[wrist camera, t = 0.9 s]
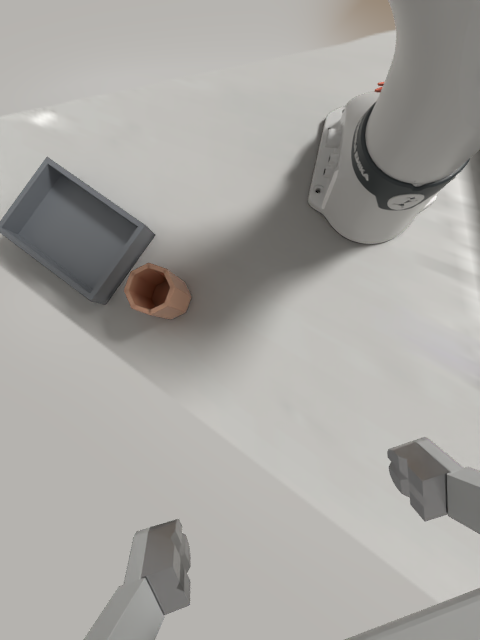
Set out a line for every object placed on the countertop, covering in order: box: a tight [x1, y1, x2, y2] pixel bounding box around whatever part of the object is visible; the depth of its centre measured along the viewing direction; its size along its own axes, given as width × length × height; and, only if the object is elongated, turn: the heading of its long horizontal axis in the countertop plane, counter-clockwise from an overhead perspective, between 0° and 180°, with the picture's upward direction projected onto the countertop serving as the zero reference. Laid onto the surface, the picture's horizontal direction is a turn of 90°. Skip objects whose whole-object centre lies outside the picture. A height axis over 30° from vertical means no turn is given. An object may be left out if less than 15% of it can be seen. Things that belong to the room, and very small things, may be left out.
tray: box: [0, 157, 155, 304], centre depth 46 cm, size 20×14×4 cm
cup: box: [124, 263, 191, 320], centre depth 41 cm, size 6×6×8 cm
